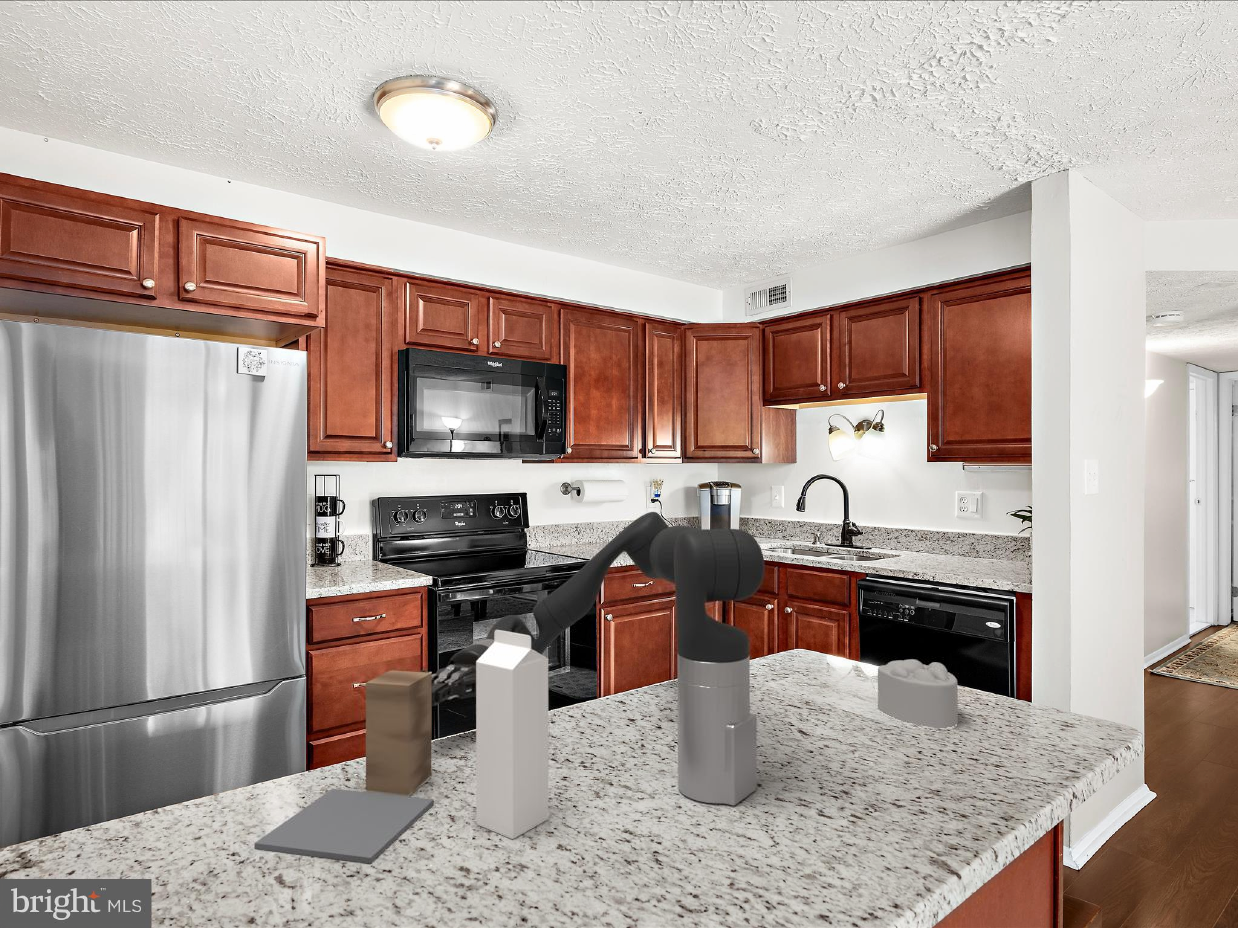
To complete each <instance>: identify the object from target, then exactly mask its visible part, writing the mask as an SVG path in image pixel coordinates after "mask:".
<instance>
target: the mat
mask: <svg viewBox="0 0 1238 928" xmlns="http://www.w3.org/2000/svg"><path fill="white" fill-rule="evenodd" d="M434 804H435V799H434V798H427V797H426V798H424V797H415V796H410V797H407V796H398V795H388V794H379V793H369V792H367V791H358V790H348V789H341V788H340V789H339V788H332V789H330V790H329V791H327V792H326V793H325V794H322V796H320V797H319V798H317V799H316V800H314V801H313V802H311V803H310V804H309V805H307V806H306V807H304V808H303V809H301V810H299V812H297V813H295V814H294V815H293V816H291V817H290V818H289V819H287V820H286V821H284V822H283V823H281V824H280V825H279V826H276V828H274V829H273V830H271V831H270V832H268V833H267V834H266V835H264V836H263V837H261V838H260V839H258V840H257V841H255V842H254V845H253V846H254V849H255V850H262V851H263V850H264V851H270V852H277V853H278V852H279V853H284V854H285V853H286V854H294V855H300V856H309V857H317V858H323V859H324V858H325V859H331V860H338V861H339V860H340V861H347V862H356V863H361V864H362V863H363V864H372V863H373V862H374V861H375V860H376V859H378V857H379V856H380V855H382V854H383V852H385V851H386V850H387V849H388V848H389V847H390V846H391V845H392V844H393V843H394V842H395V841H396V840H398V838H400V837H401V836H402V835H403V834H404V833H405V832H406V831H407V830H408V829H409V828H410V827H411V826H412V825H413V824H415V823H416V822H417V821H418V820H419V819H420V818H421V817H423V815H424V814H425V813H427V811H428V810H429V809H430V808H432V807H433V806H434Z"/></svg>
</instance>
